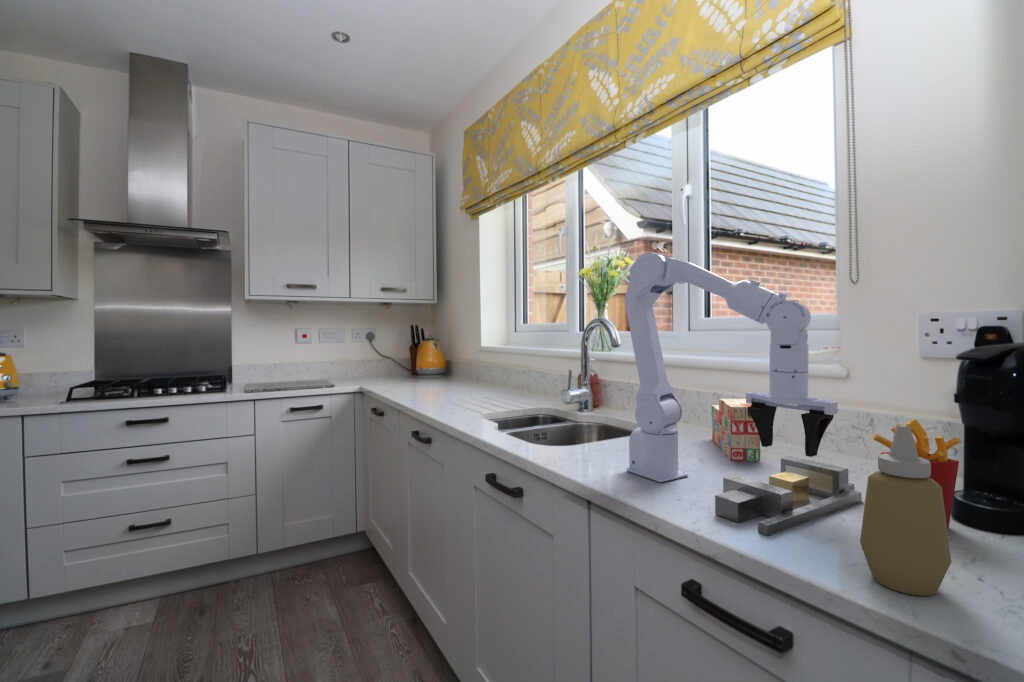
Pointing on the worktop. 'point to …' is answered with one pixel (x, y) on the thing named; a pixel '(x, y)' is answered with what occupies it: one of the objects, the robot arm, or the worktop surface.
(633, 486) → the worktop surface
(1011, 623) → the worktop surface
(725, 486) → the sliding jaw
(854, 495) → the vise
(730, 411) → the stack of blocks
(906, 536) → the squeeze bottle
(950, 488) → the french fries
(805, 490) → the brass block
